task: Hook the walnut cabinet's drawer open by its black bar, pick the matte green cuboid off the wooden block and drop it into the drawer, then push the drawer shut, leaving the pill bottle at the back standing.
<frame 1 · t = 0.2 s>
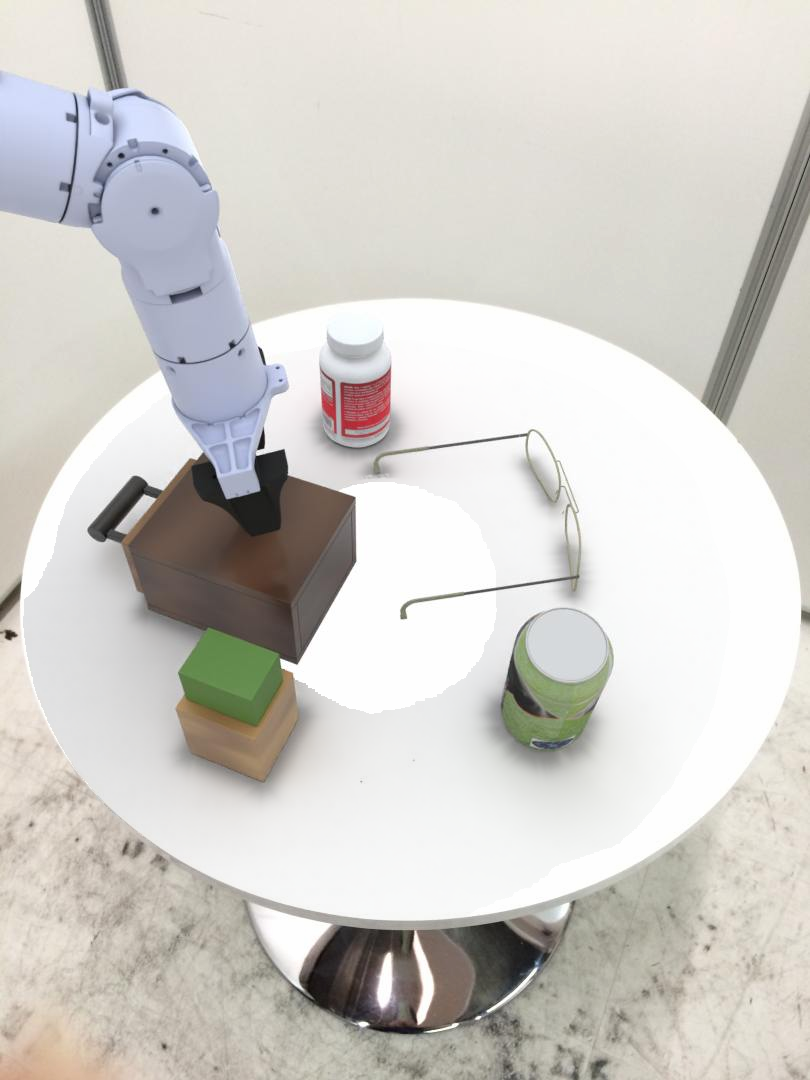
hand: (257, 487, 60), 11 cm above the table, tool pointing down, fingers open, 7 cm apart
eyeglasses: (474, 534, 72), on the table
drawer: (201, 537, 66), point 4 cm above the table, slide at 0.0 cm
beverage can: (539, 726, 61), on the table
matte green cuboid: (235, 690, 55), point 6 cm above the table, touching wooden block
pill bottle: (356, 428, 80), on the table
wooden block: (245, 735, 59), on the table
cabinet: (255, 584, 68), on the table
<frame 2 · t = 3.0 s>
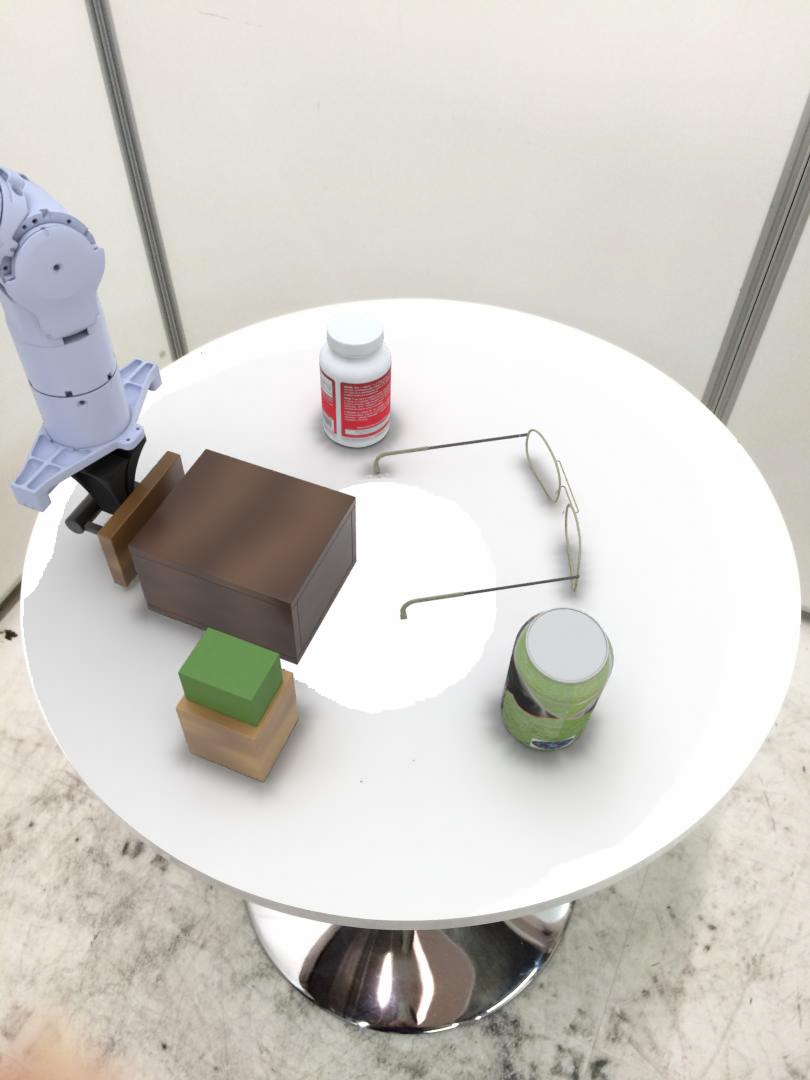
hand: (117, 508, 67), 4 cm above the table, tool pointing down, fingers closed, pressing on drawer
drawer: (178, 529, 66), point 4 cm above the table, slide at 2.0 cm, touching gripper
everything else where it was.
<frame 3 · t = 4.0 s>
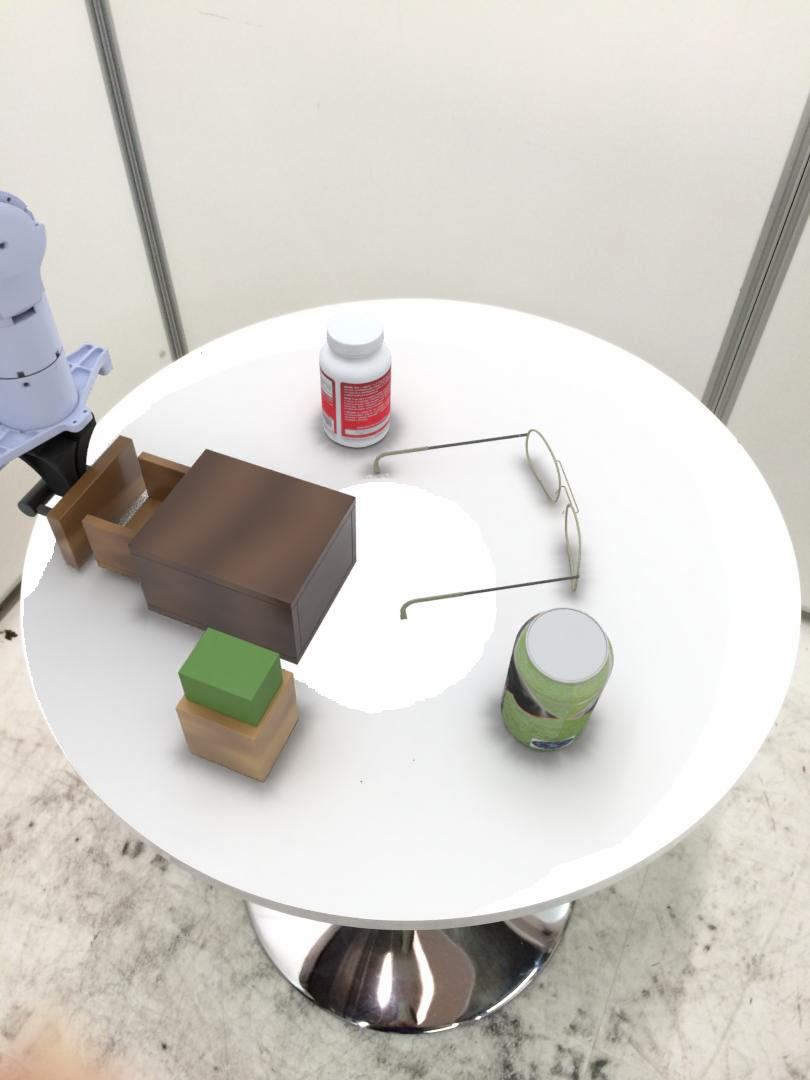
hand: (70, 492, 68), 4 cm above the table, tool pointing down, fingers closed, pressing on drawer
drawer: (129, 512, 67), point 4 cm above the table, slide at 6.4 cm, touching gripper
everything else where it was.
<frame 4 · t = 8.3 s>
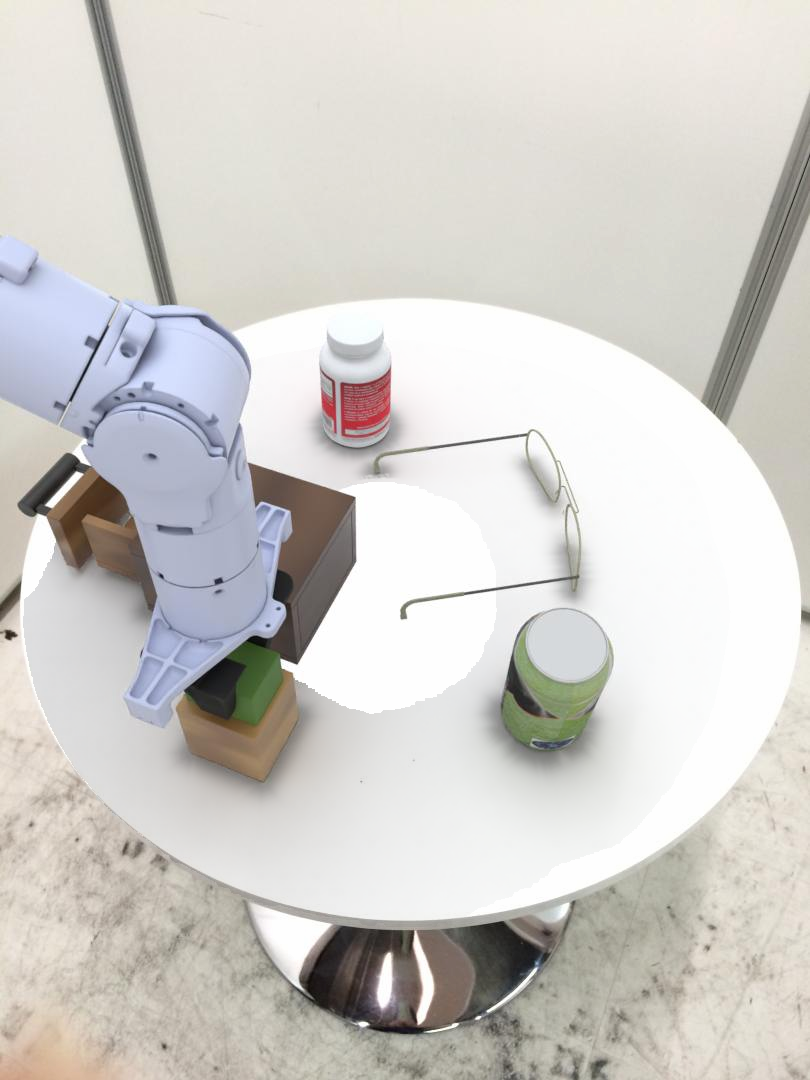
hand: (233, 683, 54), 7 cm above the table, tool pointing down, fingers closed on matte green cuboid, 3 cm apart
drawer: (129, 512, 67), point 4 cm above the table, slide at 6.4 cm
matte green cuboid: (235, 689, 55), point 6 cm above the table, touching wooden block, gripper
everything else where it was.
when the fingers open (8 cm above the table, at t = 13.1 s): matte green cuboid drops 6 cm, resting on drawer.
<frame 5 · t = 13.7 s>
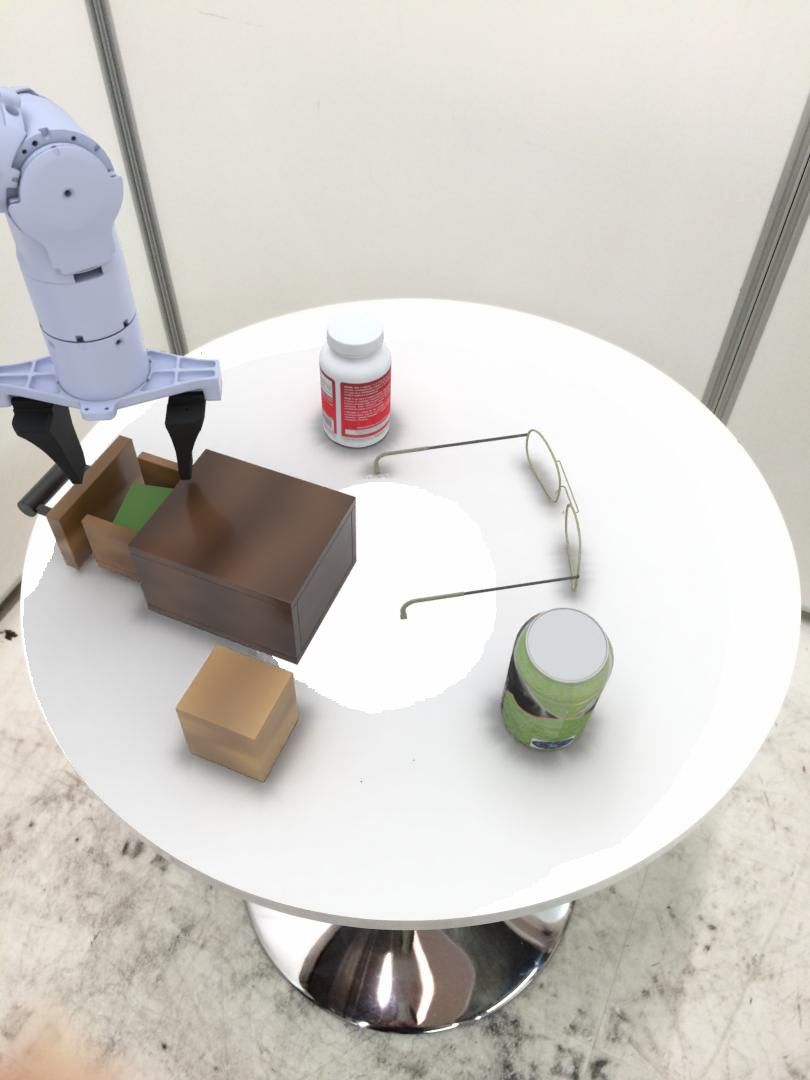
hand: (133, 472, 63), 9 cm above the table, tool pointing down, fingers open, 7 cm apart
drawer: (129, 511, 67), point 4 cm above the table, slide at 6.4 cm, touching matte green cuboid
matte green cuboid: (151, 536, 68), point 2 cm above the table, touching drawer
everything else where it was.
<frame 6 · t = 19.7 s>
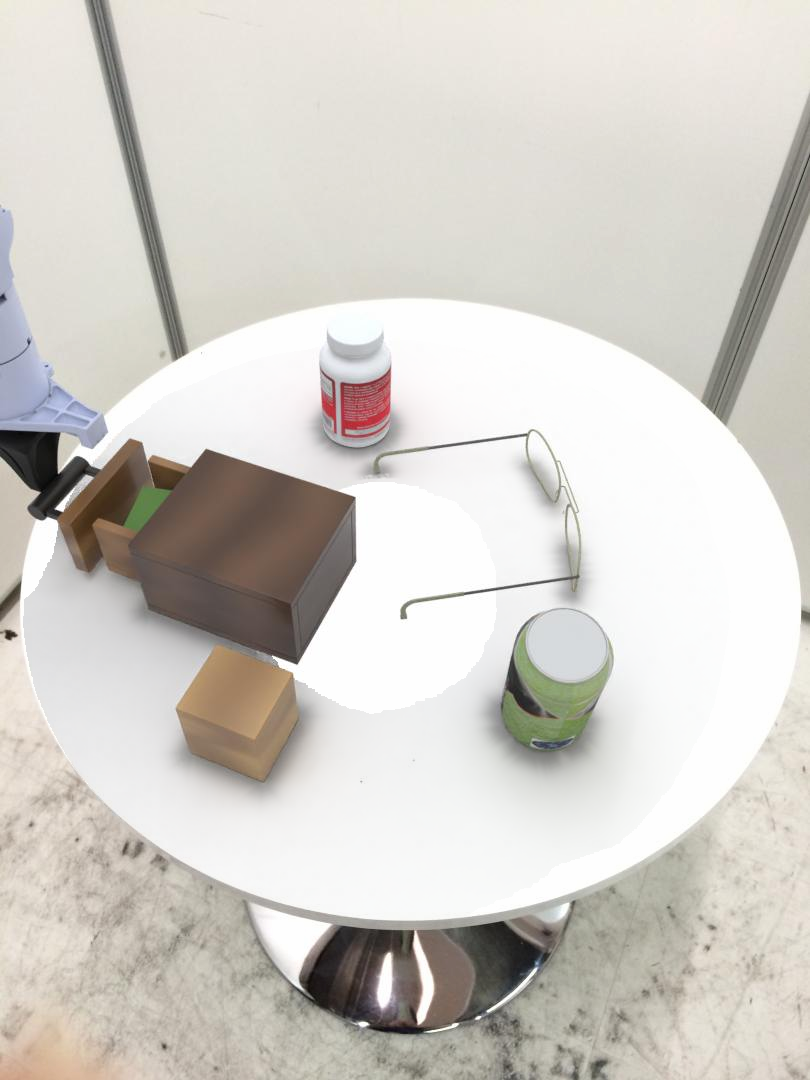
hand: (44, 482, 69), 4 cm above the table, tool pointing down, fingers closed
drawer: (140, 515, 67), point 4 cm above the table, slide at 5.4 cm, touching gripper, matte green cuboid
everything else where it was.
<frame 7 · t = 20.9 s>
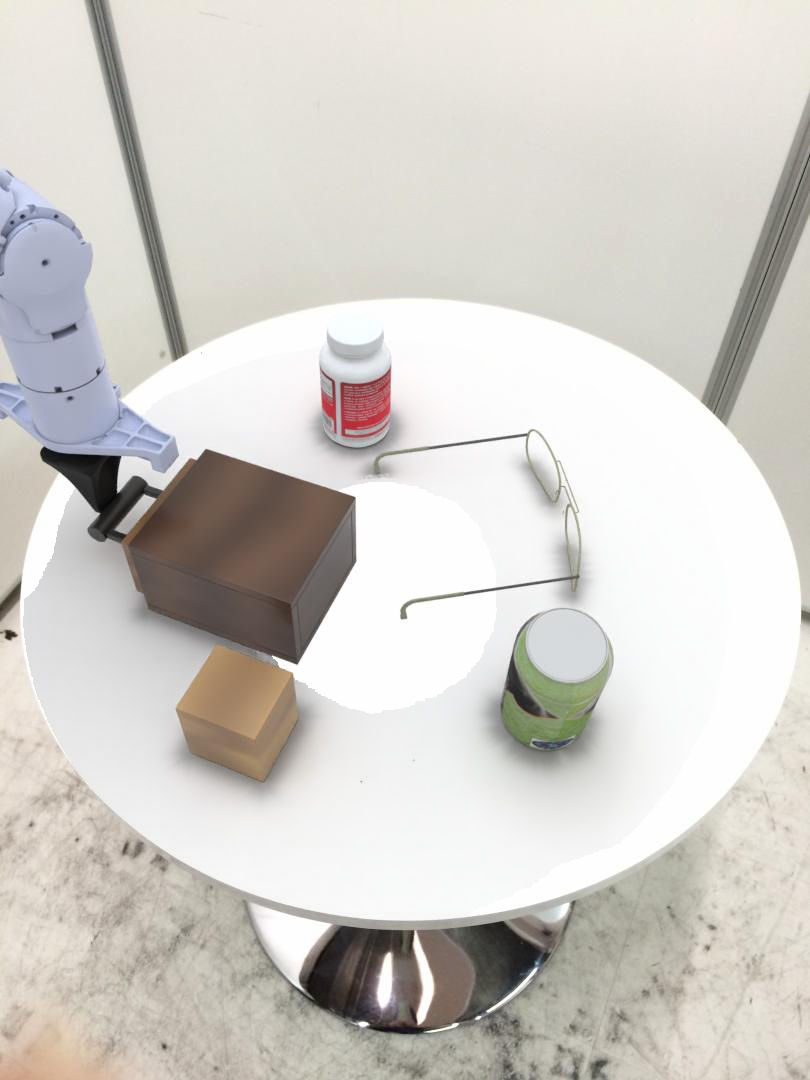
hand: (107, 504, 68), 4 cm above the table, tool pointing down, fingers closed, pressing on drawer
drawer: (201, 537, 66), point 4 cm above the table, slide at 0.0 cm, touching cabinet, gripper, matte green cuboid
matte green cuboid: (223, 561, 67), point 2 cm above the table, touching drawer
everything else where it was.
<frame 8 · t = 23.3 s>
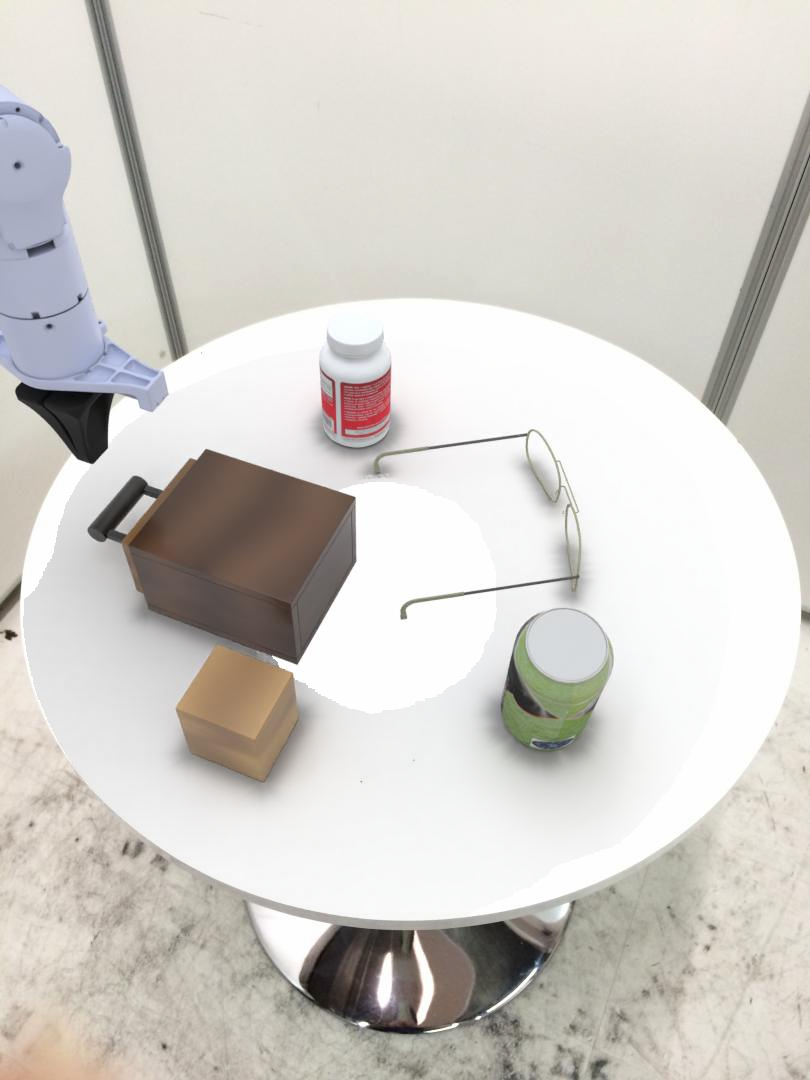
hand: (92, 453, 63), 9 cm above the table, tool pointing down, fingers closed
drawer: (201, 537, 66), point 4 cm above the table, slide at 0.0 cm, touching matte green cuboid
everything else where it was.
at the end: matte green cuboid inside the target area in the cabinet (1.9 cm from its centre), point 2.0 cm above the cabinet's base; drawer slide at 0.0 cm; pill bottle tilted 0° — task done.
